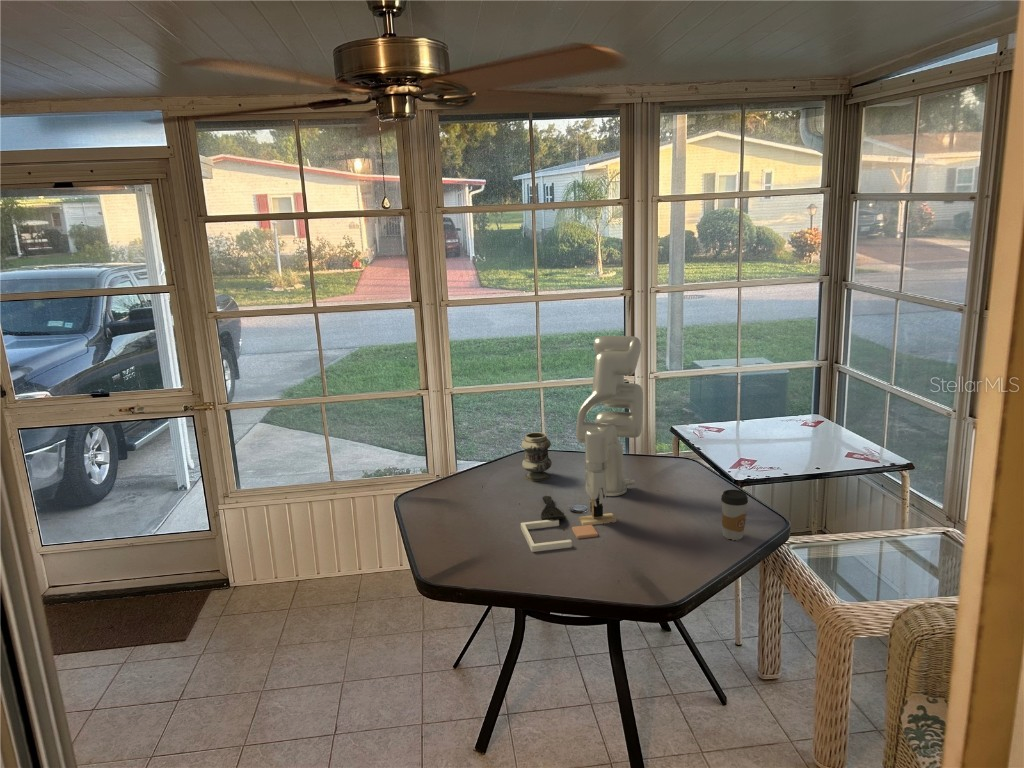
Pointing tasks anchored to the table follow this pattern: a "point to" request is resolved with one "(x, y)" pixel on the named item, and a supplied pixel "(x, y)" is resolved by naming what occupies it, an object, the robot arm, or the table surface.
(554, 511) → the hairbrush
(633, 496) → the table surface
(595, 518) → the tan l-shaped bookend
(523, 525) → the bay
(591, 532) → the tile
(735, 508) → the coffee cup
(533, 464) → the carved stone vase
